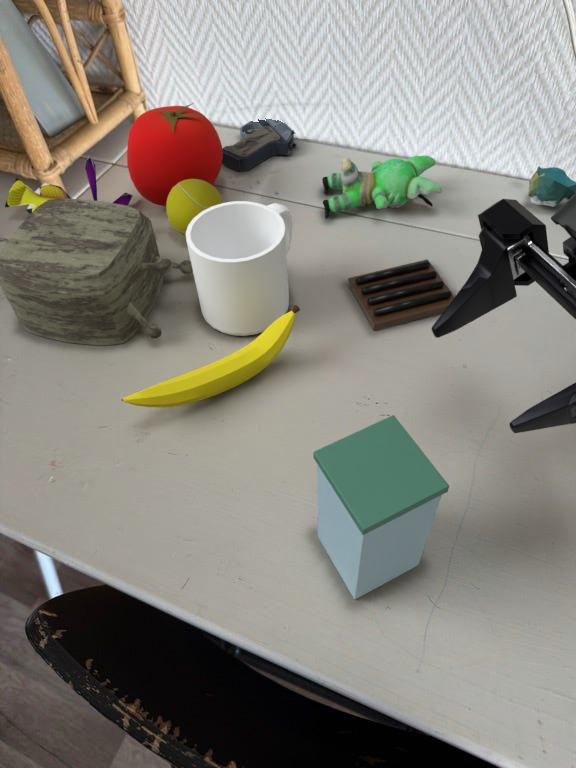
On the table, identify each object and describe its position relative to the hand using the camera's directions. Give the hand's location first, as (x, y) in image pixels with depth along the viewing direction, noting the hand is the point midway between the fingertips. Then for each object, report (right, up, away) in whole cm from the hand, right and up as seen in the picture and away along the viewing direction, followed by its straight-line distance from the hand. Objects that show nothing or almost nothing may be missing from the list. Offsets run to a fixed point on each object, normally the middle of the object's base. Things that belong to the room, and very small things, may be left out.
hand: (469, 377), depth 40 cm
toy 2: (-8, +25, +38) cm, 46 cm away
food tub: (-6, -14, +8) cm, 17 cm away
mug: (-16, +9, +28) cm, 34 cm away
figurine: (+26, +24, +36) cm, 51 cm away
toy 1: (-39, +28, +36) cm, 60 cm away
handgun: (-24, +35, +47) cm, 63 cm away
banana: (-19, -1, +20) cm, 28 cm away
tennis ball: (-22, +19, +32) cm, 43 cm away
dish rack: (+1, +10, +27) cm, 29 cm away
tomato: (-27, +26, +42) cm, 57 cm away
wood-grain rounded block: (-24, +11, +24) cm, 36 cm away
